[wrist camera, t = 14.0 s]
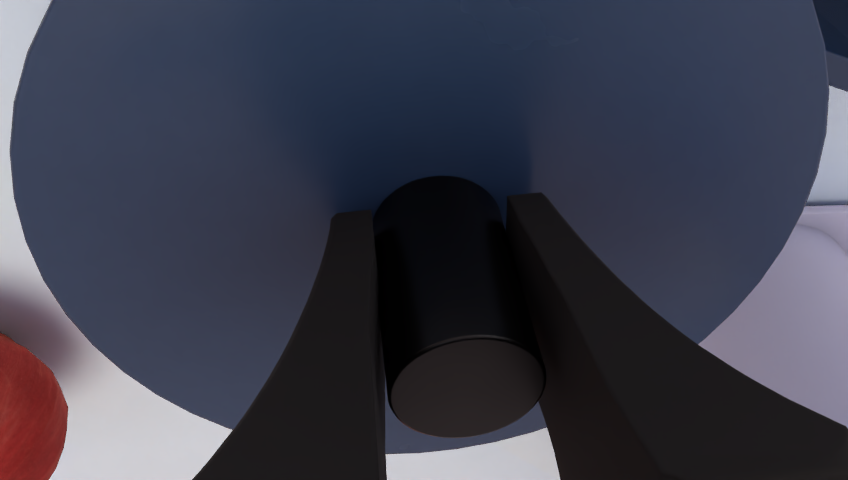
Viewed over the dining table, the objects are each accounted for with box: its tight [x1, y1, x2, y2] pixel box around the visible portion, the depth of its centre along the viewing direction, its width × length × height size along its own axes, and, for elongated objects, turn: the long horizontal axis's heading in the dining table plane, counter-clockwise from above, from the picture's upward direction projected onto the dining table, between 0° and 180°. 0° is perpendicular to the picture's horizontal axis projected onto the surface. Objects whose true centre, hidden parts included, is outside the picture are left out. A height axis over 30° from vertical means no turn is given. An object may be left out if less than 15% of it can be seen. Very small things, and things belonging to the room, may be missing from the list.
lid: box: [10, 0, 829, 454], centre depth 14 cm, size 14×14×5 cm
